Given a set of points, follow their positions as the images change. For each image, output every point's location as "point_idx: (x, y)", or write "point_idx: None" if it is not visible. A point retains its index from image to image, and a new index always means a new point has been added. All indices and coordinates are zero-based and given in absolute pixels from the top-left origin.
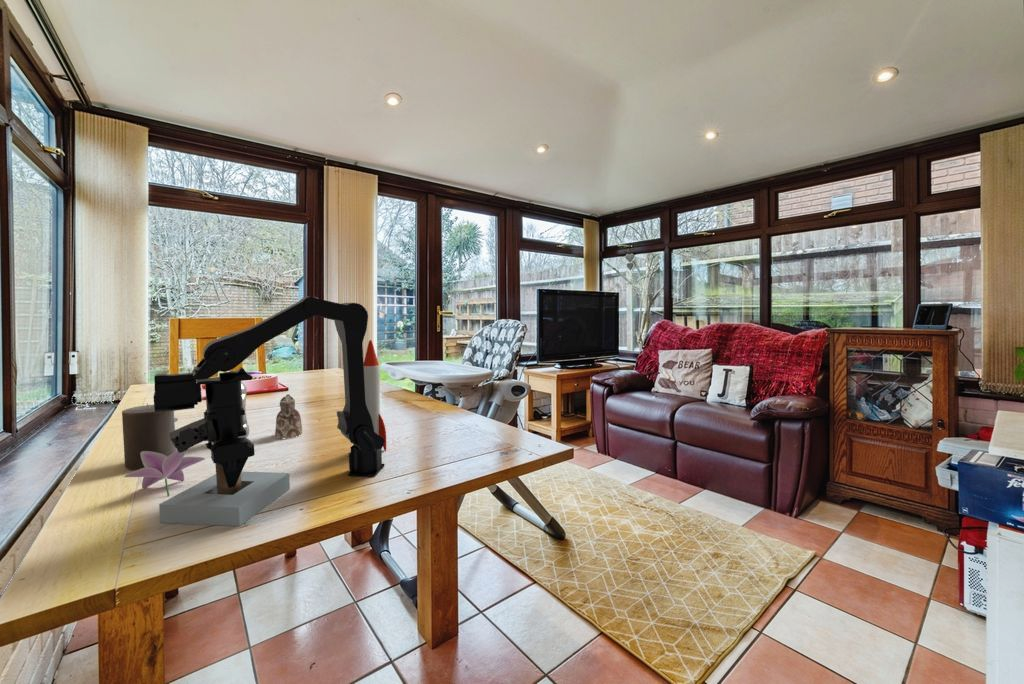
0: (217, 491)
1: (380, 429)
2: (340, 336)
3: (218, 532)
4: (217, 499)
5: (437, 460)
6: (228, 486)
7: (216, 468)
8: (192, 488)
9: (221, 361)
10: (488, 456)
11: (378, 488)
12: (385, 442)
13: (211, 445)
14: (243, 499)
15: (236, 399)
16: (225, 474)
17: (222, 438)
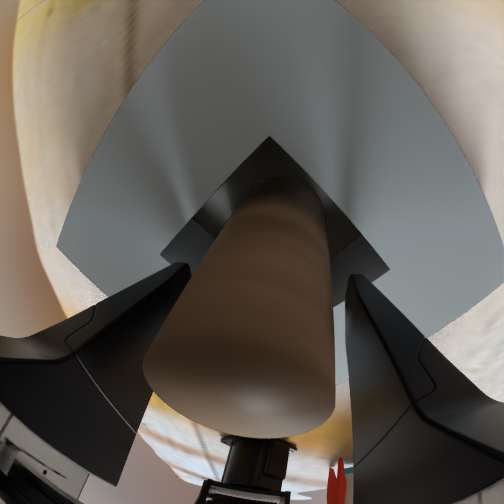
0: (265, 205)
1: (335, 500)
2: None
3: (85, 165)
4: (140, 193)
5: None
6: (170, 265)
7: (208, 301)
8: (407, 103)
9: None
10: (206, 474)
11: (169, 419)
12: (328, 480)
13: (499, 482)
14: (103, 271)
15: None
16: (101, 305)
17: None
